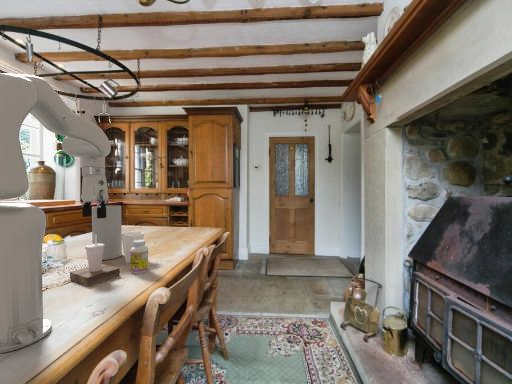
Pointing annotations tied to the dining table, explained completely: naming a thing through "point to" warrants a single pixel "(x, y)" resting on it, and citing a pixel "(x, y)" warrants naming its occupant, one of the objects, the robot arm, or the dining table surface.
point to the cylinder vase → (108, 231)
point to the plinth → (94, 275)
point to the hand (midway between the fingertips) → (94, 217)
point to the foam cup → (130, 242)
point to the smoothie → (94, 255)
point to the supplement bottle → (139, 257)
